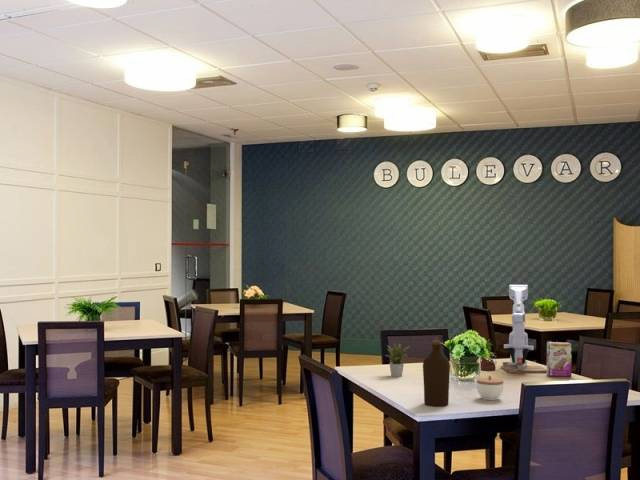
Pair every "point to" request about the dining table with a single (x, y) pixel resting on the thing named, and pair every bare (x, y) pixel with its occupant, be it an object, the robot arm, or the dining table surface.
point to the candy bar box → (559, 359)
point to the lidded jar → (489, 388)
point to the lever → (520, 364)
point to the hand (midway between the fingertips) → (518, 363)
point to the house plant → (396, 361)
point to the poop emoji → (488, 365)
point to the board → (528, 369)
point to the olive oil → (436, 377)
